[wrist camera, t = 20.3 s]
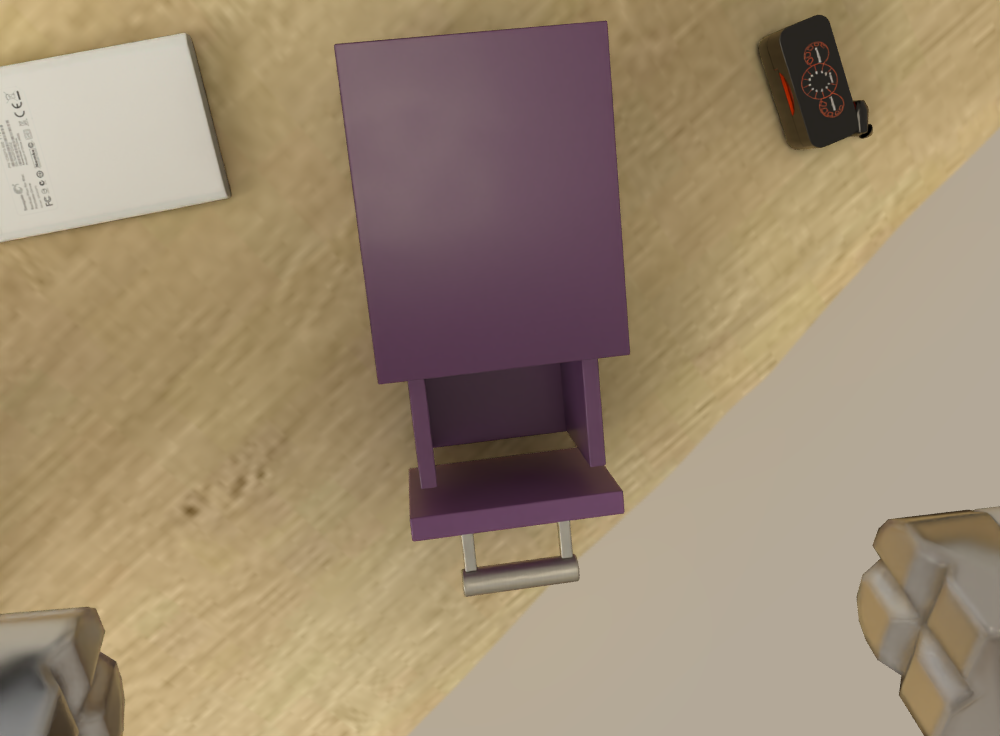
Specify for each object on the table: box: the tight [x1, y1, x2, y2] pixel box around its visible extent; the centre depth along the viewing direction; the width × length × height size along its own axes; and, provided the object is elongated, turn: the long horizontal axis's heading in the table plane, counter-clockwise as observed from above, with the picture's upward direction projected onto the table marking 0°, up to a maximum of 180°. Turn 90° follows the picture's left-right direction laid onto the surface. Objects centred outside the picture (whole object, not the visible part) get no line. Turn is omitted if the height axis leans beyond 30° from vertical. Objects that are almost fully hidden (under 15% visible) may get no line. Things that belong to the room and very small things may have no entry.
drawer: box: [408, 359, 624, 597], centre depth 46 cm, size 18×10×8 cm, turn 6°
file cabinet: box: [334, 21, 630, 384], centre depth 44 cm, size 15×12×10 cm
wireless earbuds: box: [758, 15, 873, 150], centre depth 47 cm, size 5×7×3 cm, turn 22°
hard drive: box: [0, 33, 231, 242], centre depth 45 cm, size 2×8×12 cm
